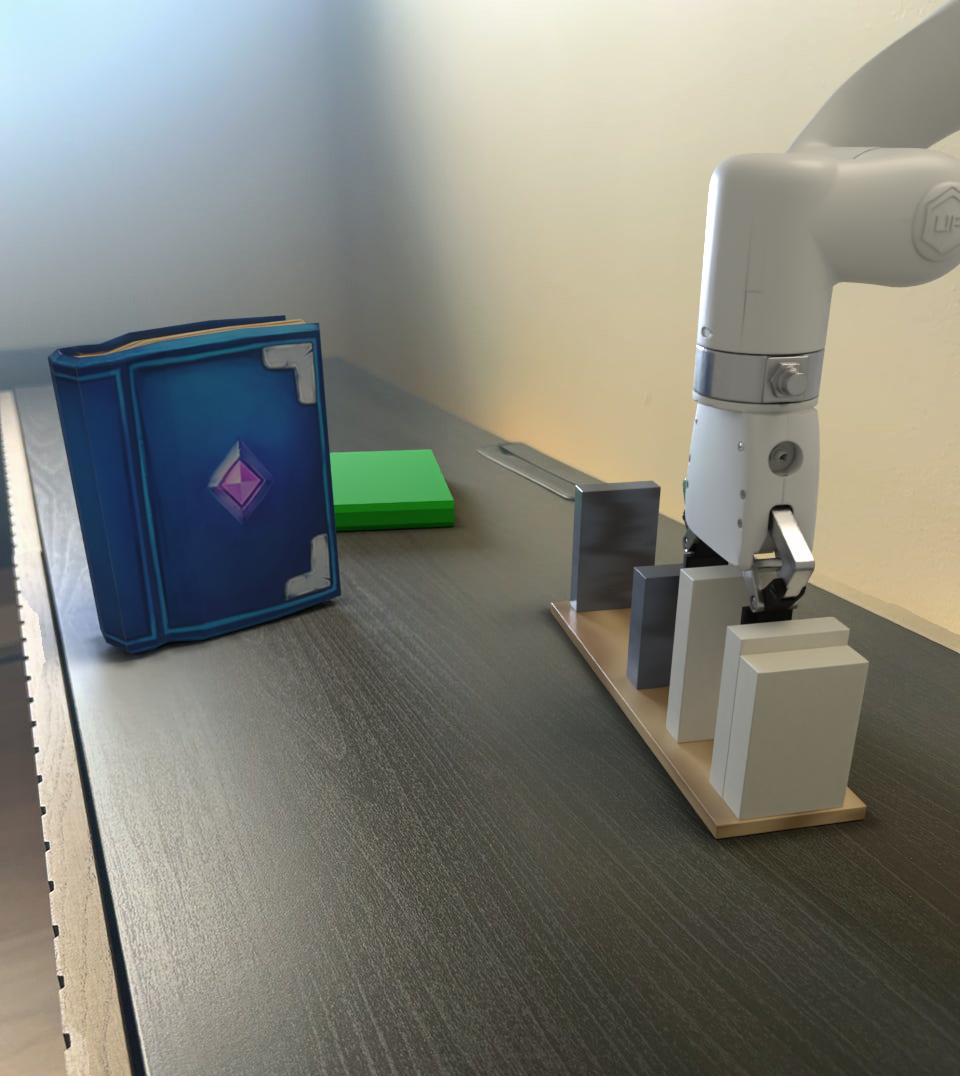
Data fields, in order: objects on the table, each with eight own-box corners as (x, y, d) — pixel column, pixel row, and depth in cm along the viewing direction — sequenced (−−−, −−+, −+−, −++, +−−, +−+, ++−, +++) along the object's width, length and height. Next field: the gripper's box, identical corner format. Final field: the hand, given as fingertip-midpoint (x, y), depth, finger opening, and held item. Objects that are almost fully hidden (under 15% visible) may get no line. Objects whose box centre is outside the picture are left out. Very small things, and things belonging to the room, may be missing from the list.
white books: (808, 770, 69) (833, 616, 65) (843, 807, 65) (872, 646, 61) (708, 782, 68) (726, 625, 63) (739, 820, 64) (760, 656, 59)
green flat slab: (208, 480, 133) (206, 456, 131) (431, 472, 137) (431, 449, 135) (192, 539, 112) (189, 512, 111) (454, 527, 116) (454, 501, 115)
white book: (757, 718, 76) (778, 560, 71) (771, 733, 74) (794, 572, 69) (665, 728, 74) (680, 568, 69) (677, 744, 72) (693, 580, 67)
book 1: (116, 669, 84) (67, 348, 74) (83, 640, 89) (32, 335, 79) (346, 603, 97) (332, 320, 86) (306, 581, 102) (287, 311, 91)
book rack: (655, 603, 97) (665, 476, 92) (864, 819, 66) (898, 645, 61) (550, 612, 95) (555, 483, 90) (715, 839, 64) (737, 661, 59)
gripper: (891, 403, 57) (846, 685, 65) (752, 349, 73) (728, 582, 80) (762, 410, 56) (731, 698, 63) (648, 353, 71) (633, 590, 79)
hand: (729, 632), depth 72 cm, fingers open, 9 cm apart
